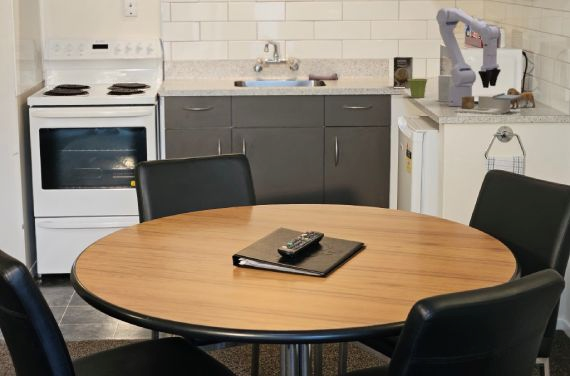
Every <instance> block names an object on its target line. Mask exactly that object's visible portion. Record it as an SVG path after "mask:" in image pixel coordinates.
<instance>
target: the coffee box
mask: <svg viewBox="0 0 570 376" xmlns="http://www.w3.org/2000/svg"><path fill="white" fill-rule="evenodd" d="M413 58H414V57H412V56H411V57H409V56H396V57H393V88H394V87H405V88H410V84H409V81H408V79H413V72H414V70H413V68H414V66H413V63H414V62H413V61H414V59H413Z"/></svg>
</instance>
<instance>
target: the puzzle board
mask: <svg viewBox="0 0 570 376" xmlns="http://www.w3.org/2000/svg"><path fill="white" fill-rule="evenodd" d="M477 102H478V103H477V106H474V108H473V109H462V107H460V108H458V109H455V110H454V113H463V112H466V114H468V113H469V114H481V113H483V115H485V114H487V115H499V114H500V115H502V114H506V113H508V112H511V104H512V102H511V100H496V99H493V96H485V95H484V96H482V95H478V100H477Z"/></svg>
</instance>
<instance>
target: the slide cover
mask: <svg viewBox="0 0 570 376" xmlns="http://www.w3.org/2000/svg"><path fill="white" fill-rule="evenodd" d="M492 97H493V99H496V100H514V99H517V98H521V95H507V94H506V93H504V92H503V93H499V94H495V95H493V96H492Z"/></svg>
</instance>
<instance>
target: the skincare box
mask: <svg viewBox="0 0 570 376" xmlns="http://www.w3.org/2000/svg"><path fill="white" fill-rule="evenodd" d="M437 80H438V82H437V83H438V85H437V87H438V92H437V94H438V98H437V99H438V102H442V103H449V92H450V88H451V86H454V83H453V82H452V75H451V74H440V75H438V79H437Z"/></svg>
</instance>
